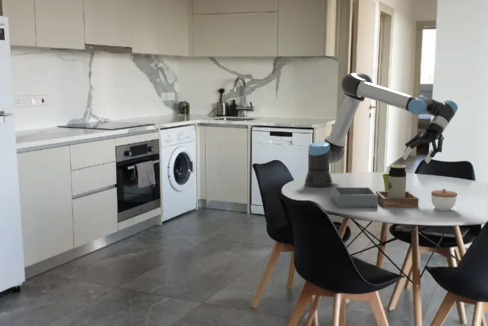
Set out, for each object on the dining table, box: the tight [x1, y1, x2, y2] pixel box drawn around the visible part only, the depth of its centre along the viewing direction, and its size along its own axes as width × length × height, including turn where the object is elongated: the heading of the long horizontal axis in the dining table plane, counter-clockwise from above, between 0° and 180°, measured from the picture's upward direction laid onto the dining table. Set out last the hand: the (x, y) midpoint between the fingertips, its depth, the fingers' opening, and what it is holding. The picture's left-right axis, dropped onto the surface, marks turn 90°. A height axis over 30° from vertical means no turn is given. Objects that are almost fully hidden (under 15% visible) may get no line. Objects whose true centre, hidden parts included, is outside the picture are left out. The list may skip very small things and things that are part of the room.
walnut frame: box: [375, 190, 420, 208], centre depth 254 cm, size 16×16×4 cm
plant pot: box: [381, 173, 389, 191], centre depth 280 cm, size 9×9×9 cm
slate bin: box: [332, 186, 379, 209], centre depth 253 cm, size 18×18×6 cm
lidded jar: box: [430, 188, 458, 212], centre depth 241 cm, size 11×11×9 cm
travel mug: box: [388, 164, 407, 198], centre depth 253 cm, size 8×8×18 cm
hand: (414, 160), depth 257 cm, fingers open, 13 cm apart
